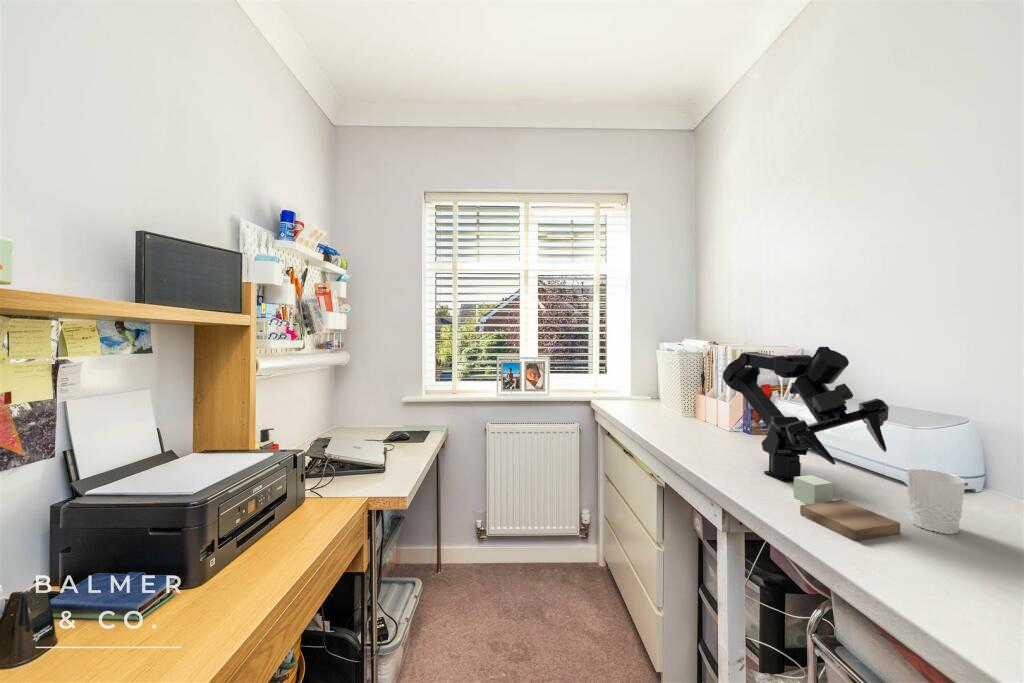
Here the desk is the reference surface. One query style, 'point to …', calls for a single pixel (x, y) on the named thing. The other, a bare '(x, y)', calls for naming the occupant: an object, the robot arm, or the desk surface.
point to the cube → (812, 489)
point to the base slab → (850, 519)
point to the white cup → (935, 500)
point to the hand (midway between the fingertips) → (859, 457)
